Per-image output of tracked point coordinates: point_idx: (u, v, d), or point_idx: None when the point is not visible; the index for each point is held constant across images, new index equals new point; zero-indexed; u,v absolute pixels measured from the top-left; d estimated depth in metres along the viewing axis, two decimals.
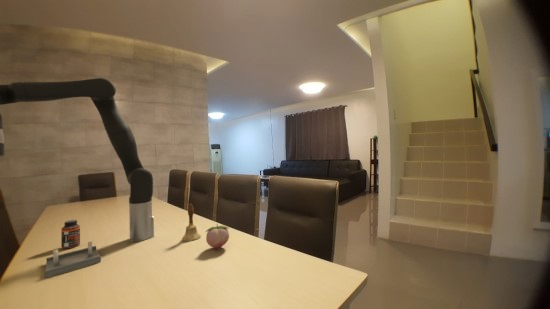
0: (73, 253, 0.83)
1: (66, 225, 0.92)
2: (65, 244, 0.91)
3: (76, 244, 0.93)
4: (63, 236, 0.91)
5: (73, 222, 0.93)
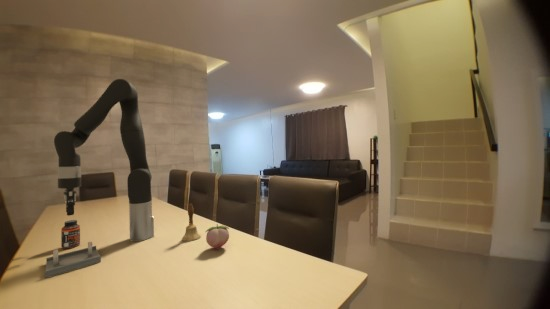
0: (73, 253, 0.83)
1: (66, 225, 0.92)
2: (65, 244, 0.91)
3: (76, 244, 0.93)
4: (63, 236, 0.91)
5: (73, 222, 0.93)
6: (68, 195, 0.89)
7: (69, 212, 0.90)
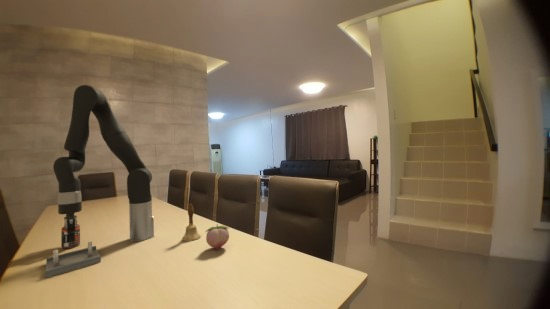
0: (73, 253, 0.83)
1: None
2: (65, 244, 0.91)
3: (76, 244, 0.93)
4: (63, 236, 0.91)
5: None
6: (68, 223, 0.89)
7: (70, 239, 0.91)
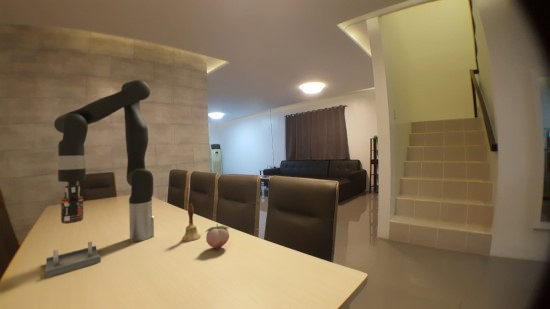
0: (73, 253, 0.83)
1: None
2: (65, 218, 0.76)
3: (79, 219, 0.78)
4: (63, 208, 0.76)
5: None
6: (70, 191, 0.74)
7: (72, 211, 0.75)
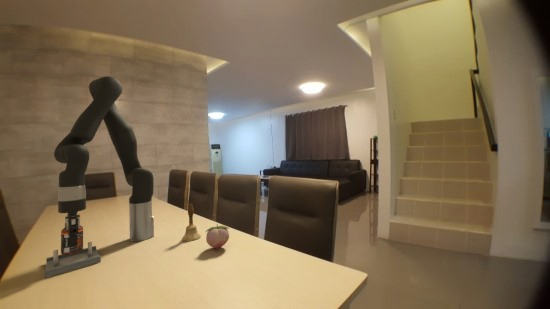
0: None
1: None
2: (65, 249, 0.75)
3: (79, 250, 0.78)
4: (63, 240, 0.76)
5: None
6: (70, 224, 0.73)
7: (72, 243, 0.75)
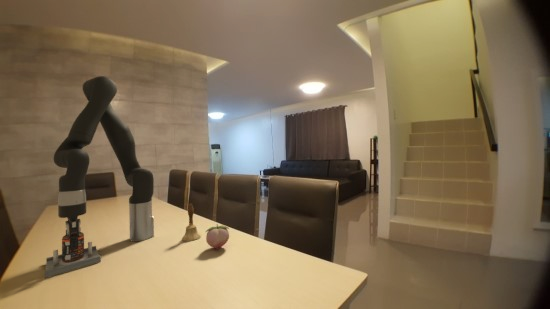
0: None
1: None
2: (66, 257, 0.75)
3: (80, 257, 0.78)
4: (64, 247, 0.76)
5: None
6: (71, 226, 0.73)
7: (72, 246, 0.75)
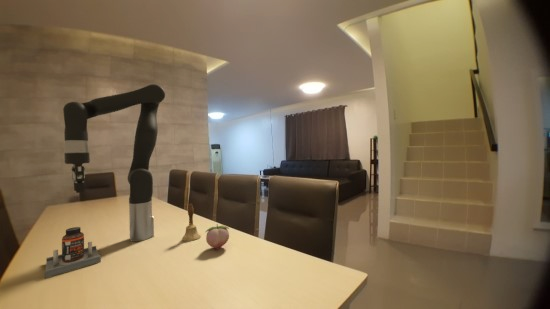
0: None
1: (68, 234, 0.77)
2: (66, 257, 0.75)
3: (80, 257, 0.78)
4: (64, 247, 0.76)
5: (76, 230, 0.78)
6: (76, 170, 0.82)
7: (78, 189, 0.83)
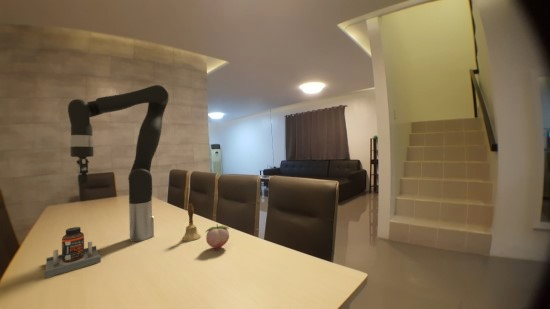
0: None
1: (68, 234, 0.77)
2: (66, 257, 0.75)
3: (80, 257, 0.78)
4: (64, 247, 0.76)
5: (76, 230, 0.78)
6: (81, 162, 0.88)
7: (82, 180, 0.89)
